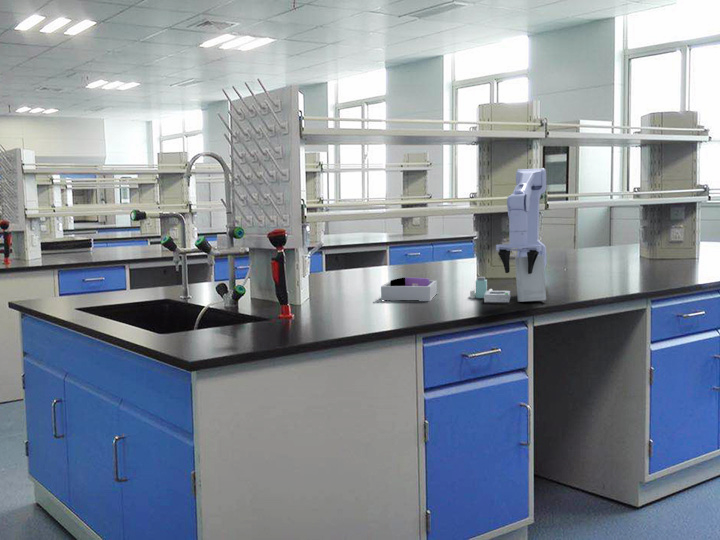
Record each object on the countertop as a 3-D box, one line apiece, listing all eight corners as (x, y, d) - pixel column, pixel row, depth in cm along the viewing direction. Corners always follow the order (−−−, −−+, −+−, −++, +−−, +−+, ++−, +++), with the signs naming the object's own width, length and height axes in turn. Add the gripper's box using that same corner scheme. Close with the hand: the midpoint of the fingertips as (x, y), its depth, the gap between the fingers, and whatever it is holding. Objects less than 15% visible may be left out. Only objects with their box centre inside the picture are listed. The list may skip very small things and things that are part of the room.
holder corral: (390, 294, 279) (390, 280, 279) (436, 294, 275) (436, 280, 275) (381, 300, 263) (380, 286, 262) (430, 301, 259) (429, 286, 258)
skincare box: (541, 300, 253) (538, 256, 254) (546, 300, 247) (544, 254, 248) (516, 301, 252) (514, 257, 253) (521, 301, 246) (519, 255, 247)
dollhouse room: (403, 295, 277) (403, 276, 277) (432, 297, 271) (432, 277, 270) (386, 299, 267) (385, 280, 267) (415, 301, 261) (415, 281, 260)
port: (486, 298, 261) (486, 289, 260) (510, 298, 259) (510, 289, 259) (484, 303, 251) (484, 293, 251) (508, 303, 249) (508, 293, 249)
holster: (472, 295, 269) (471, 288, 269) (492, 295, 267) (492, 288, 267) (470, 298, 263) (470, 291, 263) (491, 298, 261) (491, 291, 261)
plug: (476, 296, 267) (476, 276, 267) (487, 296, 266) (486, 276, 266) (475, 297, 264) (475, 277, 263) (486, 298, 263) (486, 277, 262)
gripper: (492, 232, 246) (493, 273, 248) (536, 232, 239) (536, 275, 241) (500, 230, 252) (500, 271, 254) (543, 230, 245) (543, 272, 247)
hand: (518, 273), depth 248 cm, fingers open, 7 cm apart
